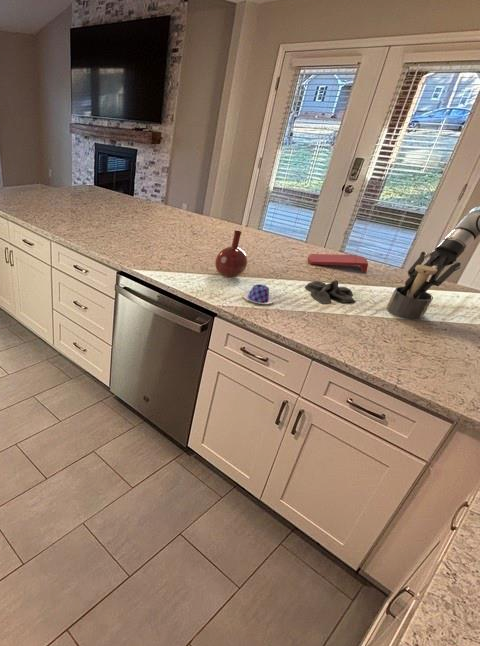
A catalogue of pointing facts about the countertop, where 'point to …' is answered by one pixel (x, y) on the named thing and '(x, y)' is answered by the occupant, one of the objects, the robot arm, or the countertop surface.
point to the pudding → (259, 294)
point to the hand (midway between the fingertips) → (408, 294)
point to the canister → (409, 304)
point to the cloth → (329, 292)
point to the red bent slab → (338, 260)
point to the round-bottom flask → (231, 259)
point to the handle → (420, 278)
